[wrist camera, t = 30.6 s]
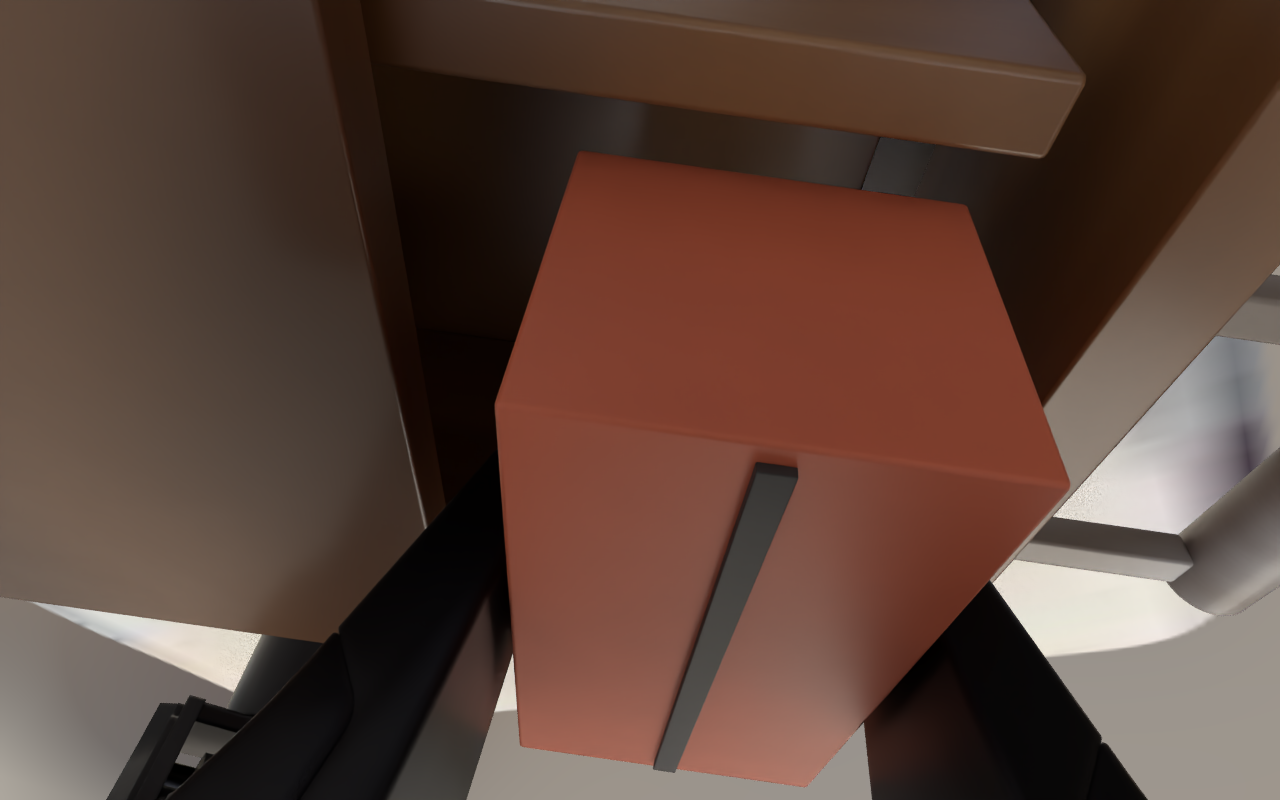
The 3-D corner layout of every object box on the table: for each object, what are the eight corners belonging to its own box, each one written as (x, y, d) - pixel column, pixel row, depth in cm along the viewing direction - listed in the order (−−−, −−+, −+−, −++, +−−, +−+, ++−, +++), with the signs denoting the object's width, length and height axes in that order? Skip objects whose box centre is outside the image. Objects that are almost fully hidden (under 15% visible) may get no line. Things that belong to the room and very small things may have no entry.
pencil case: (796, 560, 13) (806, 796, 10) (564, 527, 13) (517, 755, 10) (968, 201, 7) (1080, 498, 5) (578, 147, 7) (489, 414, 5)
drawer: (1484, -101, 10) (2109, 129, 5) (1060, 432, 18) (1164, 703, 14) (182, -285, 10) (-299, -211, 5) (344, 330, 18) (208, 566, 14)
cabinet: (545, -300, 10) (272, -205, 4) (544, 350, 20) (455, 663, 14) (-480, -445, 10) (-2109, -542, 4) (2, 273, 20) (-321, 552, 14)
